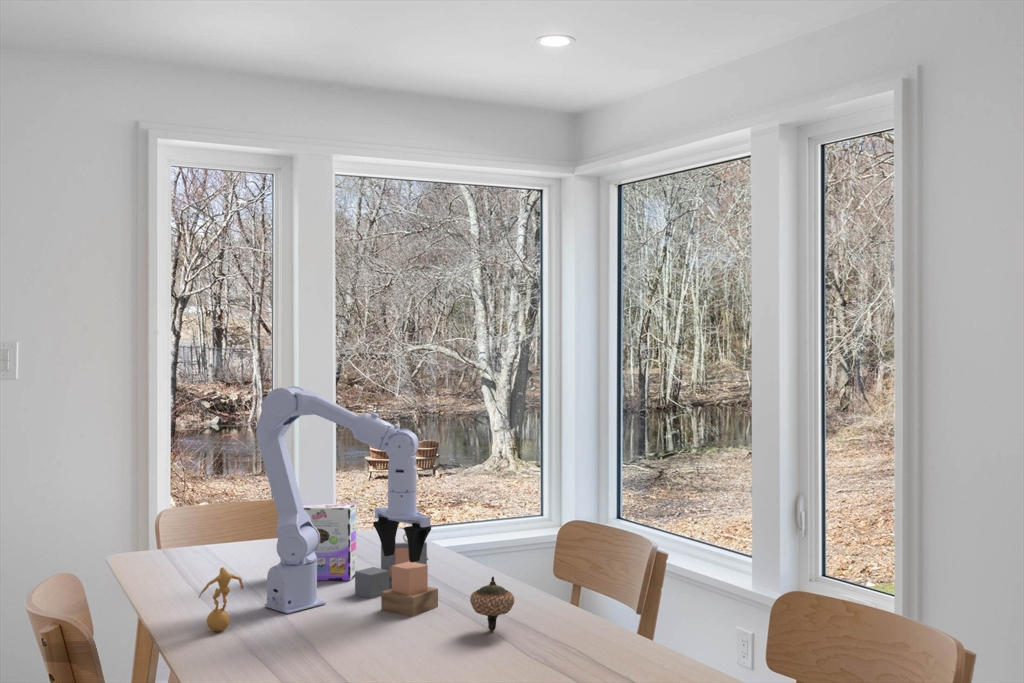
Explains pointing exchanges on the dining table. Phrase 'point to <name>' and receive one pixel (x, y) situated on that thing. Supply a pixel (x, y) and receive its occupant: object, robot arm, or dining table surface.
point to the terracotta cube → (409, 578)
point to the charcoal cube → (371, 582)
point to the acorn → (492, 602)
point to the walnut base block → (409, 602)
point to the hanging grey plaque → (400, 558)
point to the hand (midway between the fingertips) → (401, 558)
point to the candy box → (334, 540)
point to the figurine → (218, 616)
